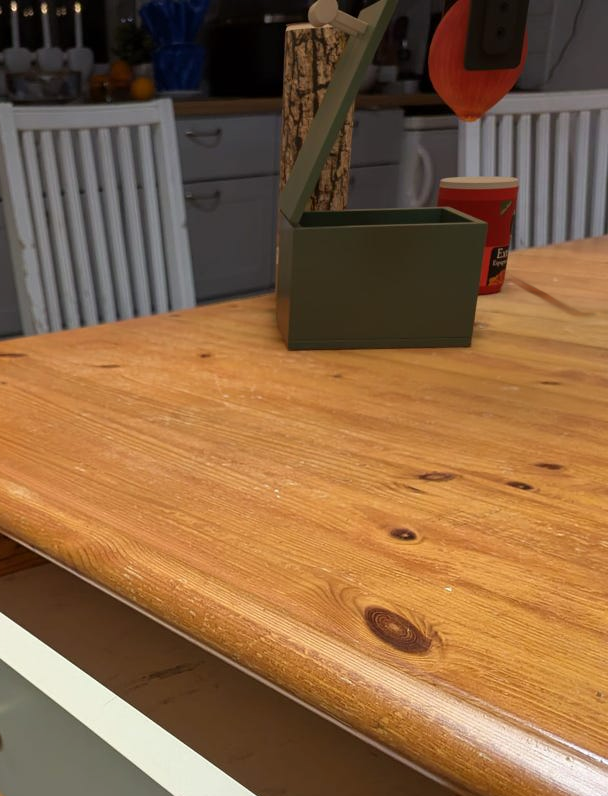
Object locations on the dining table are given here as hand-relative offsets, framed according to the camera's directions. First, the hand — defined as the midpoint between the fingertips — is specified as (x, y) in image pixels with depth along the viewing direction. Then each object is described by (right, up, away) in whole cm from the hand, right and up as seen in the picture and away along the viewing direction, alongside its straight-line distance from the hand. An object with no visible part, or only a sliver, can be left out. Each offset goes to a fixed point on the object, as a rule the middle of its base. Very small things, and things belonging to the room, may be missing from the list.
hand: (475, 67), depth 59 cm
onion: (0, -3, +1) cm, 3 cm away
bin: (+1, -7, +29) cm, 30 cm away
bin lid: (-4, +8, +21) cm, 23 cm away
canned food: (+16, +3, +46) cm, 49 cm away
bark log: (-3, 0, +42) cm, 42 cm away
